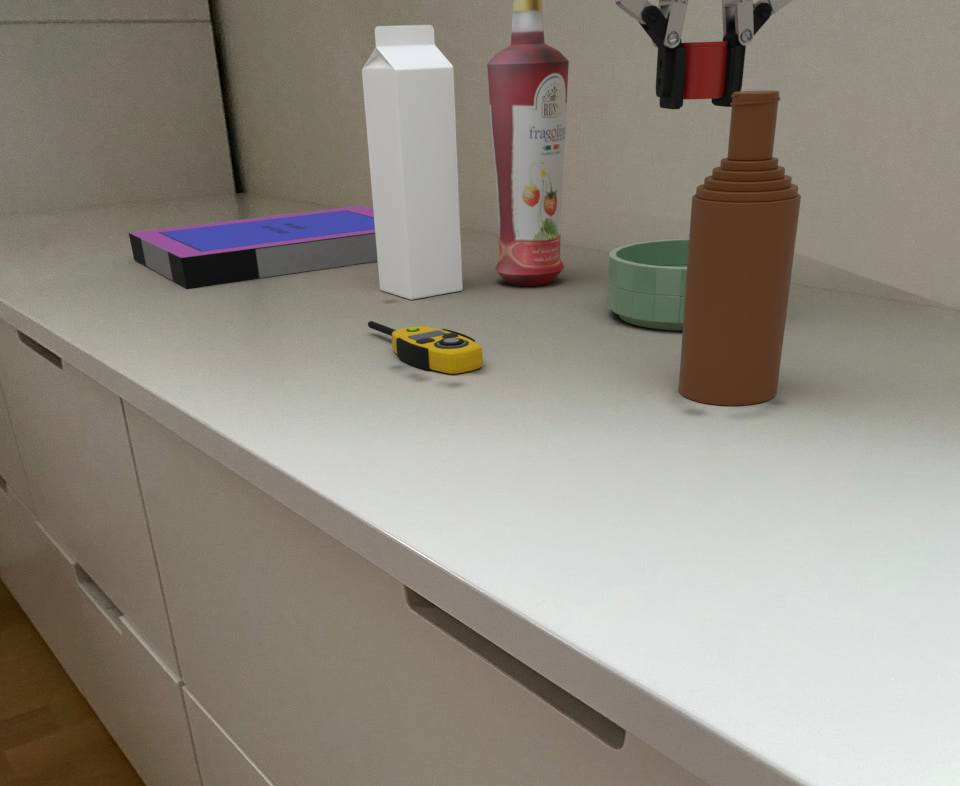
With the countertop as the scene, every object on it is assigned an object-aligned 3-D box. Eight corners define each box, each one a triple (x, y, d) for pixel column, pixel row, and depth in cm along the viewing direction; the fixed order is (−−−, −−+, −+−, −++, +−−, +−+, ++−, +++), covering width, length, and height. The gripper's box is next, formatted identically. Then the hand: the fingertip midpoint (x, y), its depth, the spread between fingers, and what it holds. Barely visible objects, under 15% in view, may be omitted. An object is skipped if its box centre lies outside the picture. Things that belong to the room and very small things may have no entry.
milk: (379, 291, 97) (355, 27, 85) (431, 281, 99) (414, 26, 88) (411, 300, 92) (391, 24, 81) (464, 290, 95) (452, 22, 84)
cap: (722, 96, 77) (727, 41, 75) (724, 98, 74) (729, 41, 72) (672, 97, 78) (676, 43, 76) (672, 99, 74) (675, 42, 73)
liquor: (527, 293, 93) (523, -69, 79) (478, 282, 98) (466, -60, 84) (582, 280, 97) (588, -66, 83) (532, 271, 102) (529, -58, 88)
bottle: (748, 372, 69) (779, 87, 60) (794, 399, 64) (836, 90, 54) (663, 382, 68) (681, 92, 59) (703, 410, 62) (730, 96, 53)
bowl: (724, 292, 91) (729, 234, 88) (793, 325, 80) (801, 260, 77) (587, 304, 89) (589, 245, 86) (638, 339, 77) (641, 273, 75)
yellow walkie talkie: (439, 352, 69) (341, 314, 80) (441, 379, 70) (344, 338, 81) (495, 340, 72) (393, 305, 82) (496, 366, 73) (394, 328, 83)
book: (128, 232, 115) (360, 205, 127) (134, 259, 116) (363, 230, 129) (180, 257, 99) (439, 224, 112) (186, 288, 101) (440, 252, 114)
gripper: (806, -188, 71) (773, 101, 80) (586, -190, 68) (579, 109, 78) (862, -211, 65) (819, 105, 74) (622, -215, 62) (610, 114, 71)
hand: (697, 104), depth 76 cm, fingers closed on cap, 3 cm apart
